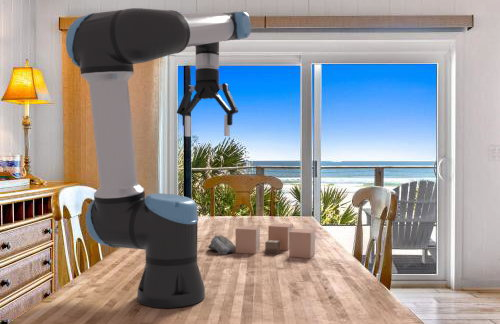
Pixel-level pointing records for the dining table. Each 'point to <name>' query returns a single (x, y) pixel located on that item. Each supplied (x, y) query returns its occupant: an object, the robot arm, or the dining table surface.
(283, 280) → the dining table surface
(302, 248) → the salmon pink box
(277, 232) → the cover mid
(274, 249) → the letter cube
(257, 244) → the peach colored cube
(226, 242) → the fossilized seashell
